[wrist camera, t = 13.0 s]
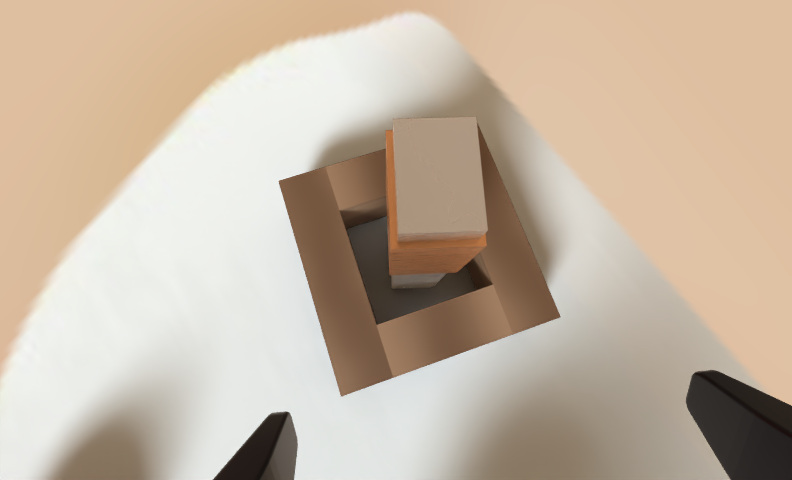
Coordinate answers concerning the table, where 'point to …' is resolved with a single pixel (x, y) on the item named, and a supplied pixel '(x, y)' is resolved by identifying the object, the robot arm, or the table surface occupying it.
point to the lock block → (424, 329)
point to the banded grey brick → (433, 199)
